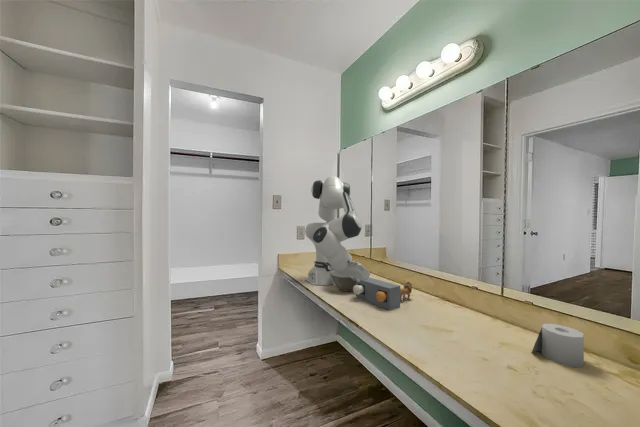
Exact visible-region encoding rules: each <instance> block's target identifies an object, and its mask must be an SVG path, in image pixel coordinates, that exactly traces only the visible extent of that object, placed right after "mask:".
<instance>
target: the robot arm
mask: <svg viewBox="0 0 640 427" xmlns="http://www.w3.org/2000/svg"><path fill="white" fill-rule="evenodd" d="M310 191H311V195H312V197H313V198H314V199H317V200H319V204H318V216H319V218H320V219H321V220H323V221H325V222H311V223H308V224H307V225H306V226H305V228H304V229H305V230H304V232H305V235H306V236H305V237H307V239H308V240H310V241H311V242H312V244H313V246H314V247H315V248H314V249H315V256H316V257H315V259H316V260H314V261H313V264H314V266H312V268H311V269H309V271H308V273H307V277H305V278H304V281H306V280H307V281H308V283H309V282H310V283H311V285H312V284H313V285H312V286H331V285H330V284H333V285H335V284H334V281H333V279H332V277H331V275H330V273H329V271H331V270H333V271H335V272H337V273H340V274H344V275H347V276H349V277H351V278H352V279H353V280H354V281H358V282H359V281H360V280H364V281H366V280H367V279H368V278H369V277H370V275H371V273H370V271H369V270H368V269H367V268H366V267H365V265H364V264H362V263H360V262H358V261H353V256H352V255H351V253H350V252H349V251H348V250H347V248H346V247H344V246H343V245H342V243H341V242H344V241H346V240H349V239H352V238H355V237H358V236H359V235H360V234H361V231H362V228H363V227H362V223H361V221H360V219H359V216H358V215H357V212H356V208H355V206H354V203H353V200H352V198H351V197H350V196H351V193H352V192H351V191H352V190H351V186H350V184H349V182H348V183H347V182H345V181H343V182H342V181H341V179H340V178H339V177H338V176H333V175H332V176H328V177H327V178H325V180H320V179H318V180H315V181H314V182H313V183H312V185H311V188H310ZM339 209H343V211H344V214H343V215H342V216H340V217H337V210H339ZM307 281H306V282H307ZM310 283H309V284H310Z"/></svg>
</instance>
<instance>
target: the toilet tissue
mask: <svg viewBox="0 0 640 427" xmlns="http://www.w3.org/2000/svg"><path fill="white" fill-rule="evenodd" d="M584 335H585V334H584V333H583V332H581V331H580V330H577V329H576V328H575V329H574V328H572V327H568V326H565V325H561V324H555V323H543V324H542V325H541V329H540V330H539V333H538V335H537V337H536V341H535V343H534V345H533V348H532V351H531V353H534V352H541V355H542V356H544V357H545V358H546V359H548V360H550V361H553V362H555V363H557V364H559V365H562V364H563V366H566V367H571V366H572V367H571V368H583V367H584V365H585V359H584V358H585V349H584V348H585V346H584V345H585V342H584V341H585V338H584Z"/></svg>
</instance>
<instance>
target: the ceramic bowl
mask: <svg viewBox="0 0 640 427" xmlns="http://www.w3.org/2000/svg"><path fill="white" fill-rule="evenodd" d="M329 273H330V275H331V277H332V279H333V281H334V283H335V284H334V285H335V286H336V287H337V288H338V289H340V290H342V291H343V292H354V291H353V287H354V286H355V285H356V281H354V280H353V279H352V278H351V277H349V276H347V275H344V274H340V273H337V272H335V271H333V270H331V271H329Z"/></svg>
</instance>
